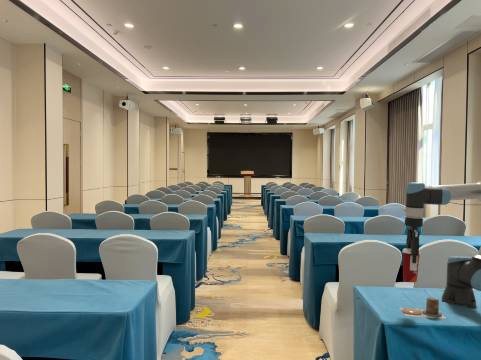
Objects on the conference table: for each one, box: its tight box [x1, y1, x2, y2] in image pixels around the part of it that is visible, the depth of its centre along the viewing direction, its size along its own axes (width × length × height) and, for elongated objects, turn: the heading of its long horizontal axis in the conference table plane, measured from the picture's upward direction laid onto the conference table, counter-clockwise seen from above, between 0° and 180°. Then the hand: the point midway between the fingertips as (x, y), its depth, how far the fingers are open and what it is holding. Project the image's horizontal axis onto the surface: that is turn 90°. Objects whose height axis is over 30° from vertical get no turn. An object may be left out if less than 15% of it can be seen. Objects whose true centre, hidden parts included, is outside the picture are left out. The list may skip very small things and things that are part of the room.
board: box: [399, 307, 447, 320], centre depth 197 cm, size 17×11×1 cm, turn 83°
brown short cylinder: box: [425, 297, 440, 315], centre depth 196 cm, size 5×5×6 cm
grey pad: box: [422, 309, 443, 317], centre depth 196 cm, size 8×8×1 cm
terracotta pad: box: [401, 307, 422, 315], centre depth 197 cm, size 8×8×1 cm
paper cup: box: [401, 247, 421, 283], centre depth 198 cm, size 8×8×14 cm
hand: (411, 268), depth 198 cm, fingers closed on paper cup, 8 cm apart
